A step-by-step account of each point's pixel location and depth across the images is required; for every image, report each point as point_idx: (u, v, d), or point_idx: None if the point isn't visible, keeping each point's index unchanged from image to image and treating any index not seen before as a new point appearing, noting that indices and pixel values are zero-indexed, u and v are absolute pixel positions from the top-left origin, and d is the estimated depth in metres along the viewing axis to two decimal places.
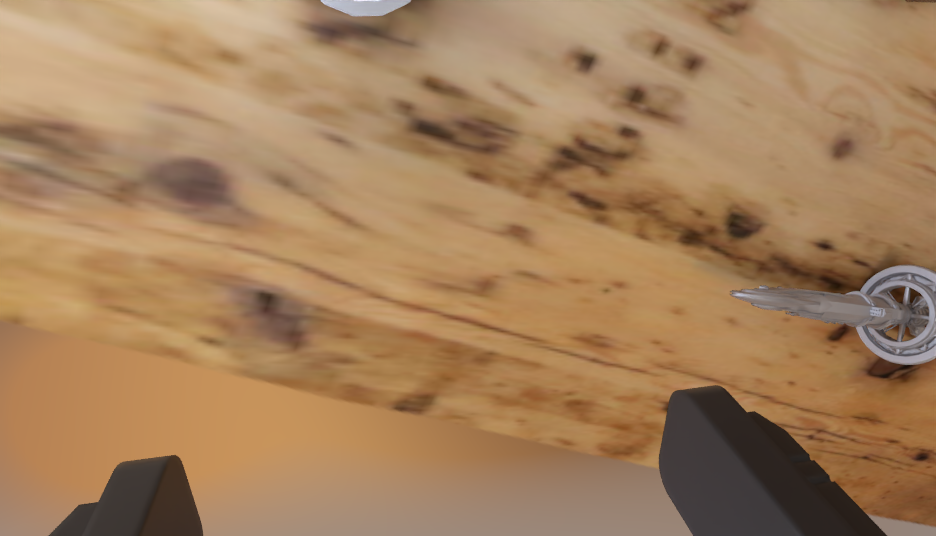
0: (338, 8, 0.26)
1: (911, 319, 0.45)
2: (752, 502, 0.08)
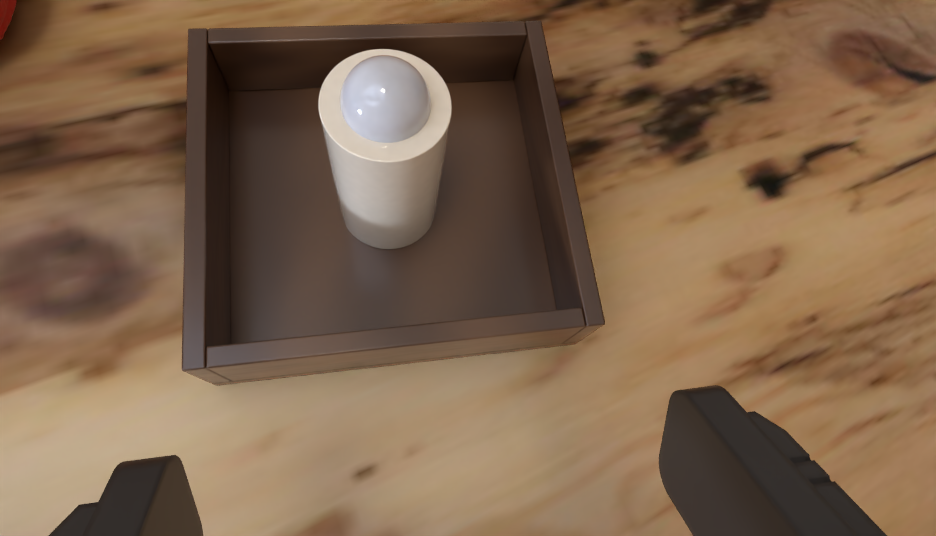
0: None
1: None
2: (752, 502, 0.08)
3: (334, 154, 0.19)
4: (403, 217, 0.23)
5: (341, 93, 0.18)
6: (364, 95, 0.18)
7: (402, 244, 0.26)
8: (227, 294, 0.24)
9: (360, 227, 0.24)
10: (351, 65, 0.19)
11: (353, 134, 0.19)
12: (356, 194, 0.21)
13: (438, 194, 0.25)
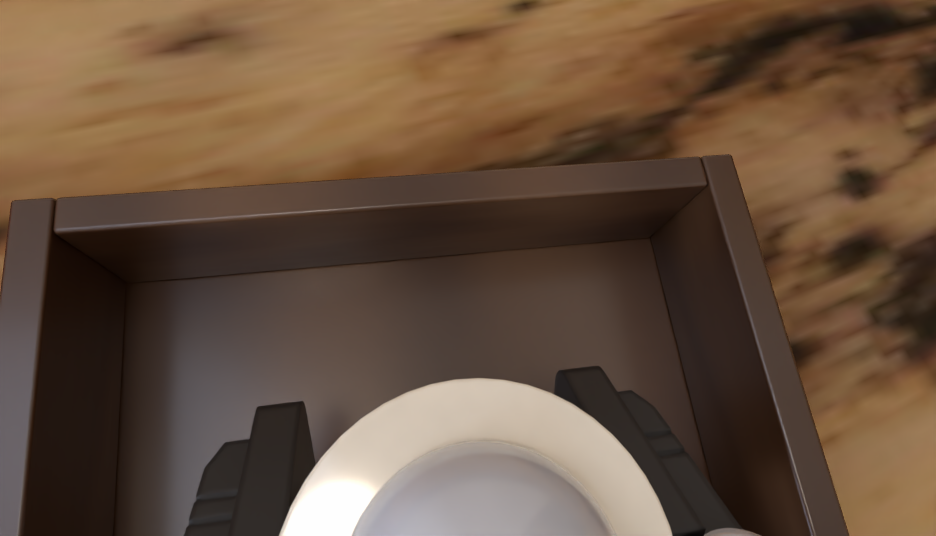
0: None
1: None
2: None
3: None
4: None
5: None
6: None
7: None
8: None
9: None
10: (372, 449, 0.06)
11: None
12: None
13: None
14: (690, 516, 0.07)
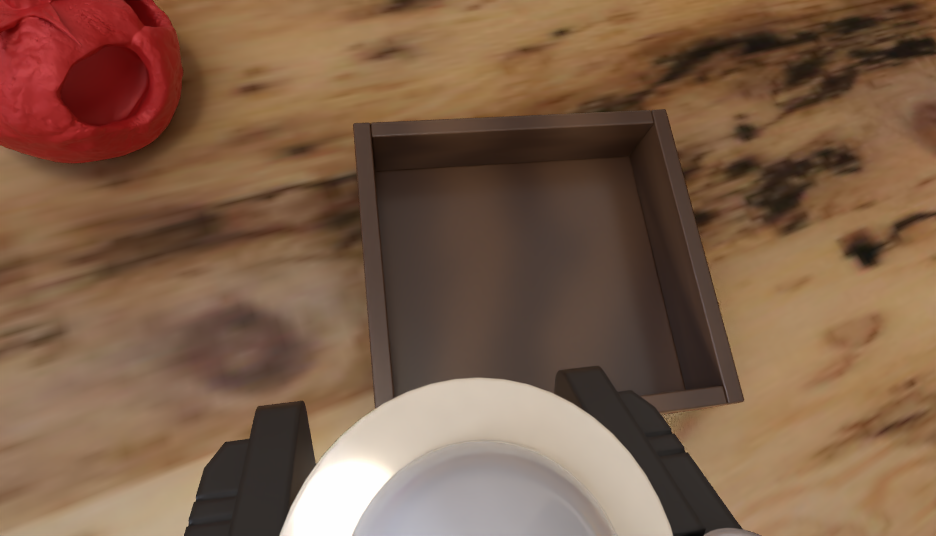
0: None
1: None
2: None
3: None
4: None
5: None
6: None
7: None
8: None
9: None
10: (372, 449, 0.06)
11: None
12: None
13: None
14: (690, 516, 0.07)
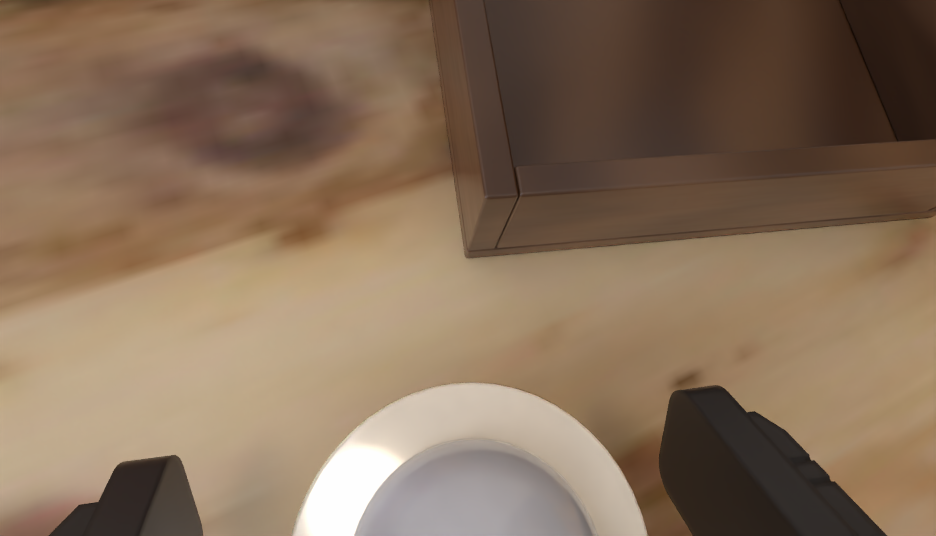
0: None
1: None
2: (752, 502, 0.08)
3: None
4: None
5: None
6: None
7: None
8: None
9: None
10: (377, 445, 0.07)
11: None
12: None
13: None
14: None
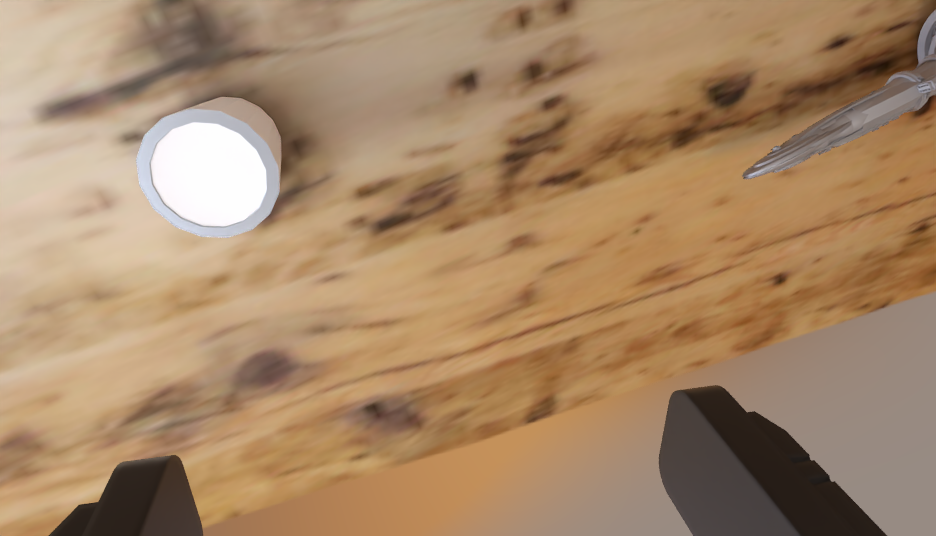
0: (238, 233, 0.31)
1: None
2: (752, 502, 0.08)
3: None
4: None
5: None
6: None
7: None
8: None
9: None
10: None
11: None
12: None
13: None
14: None
